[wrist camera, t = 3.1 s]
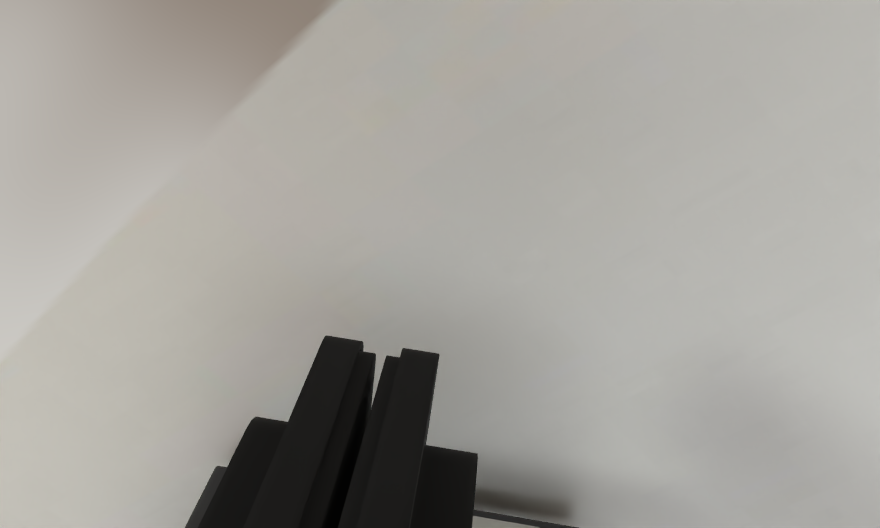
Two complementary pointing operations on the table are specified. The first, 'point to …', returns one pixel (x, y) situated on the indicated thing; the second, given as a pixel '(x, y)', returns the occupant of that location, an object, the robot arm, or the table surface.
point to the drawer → (484, 523)
